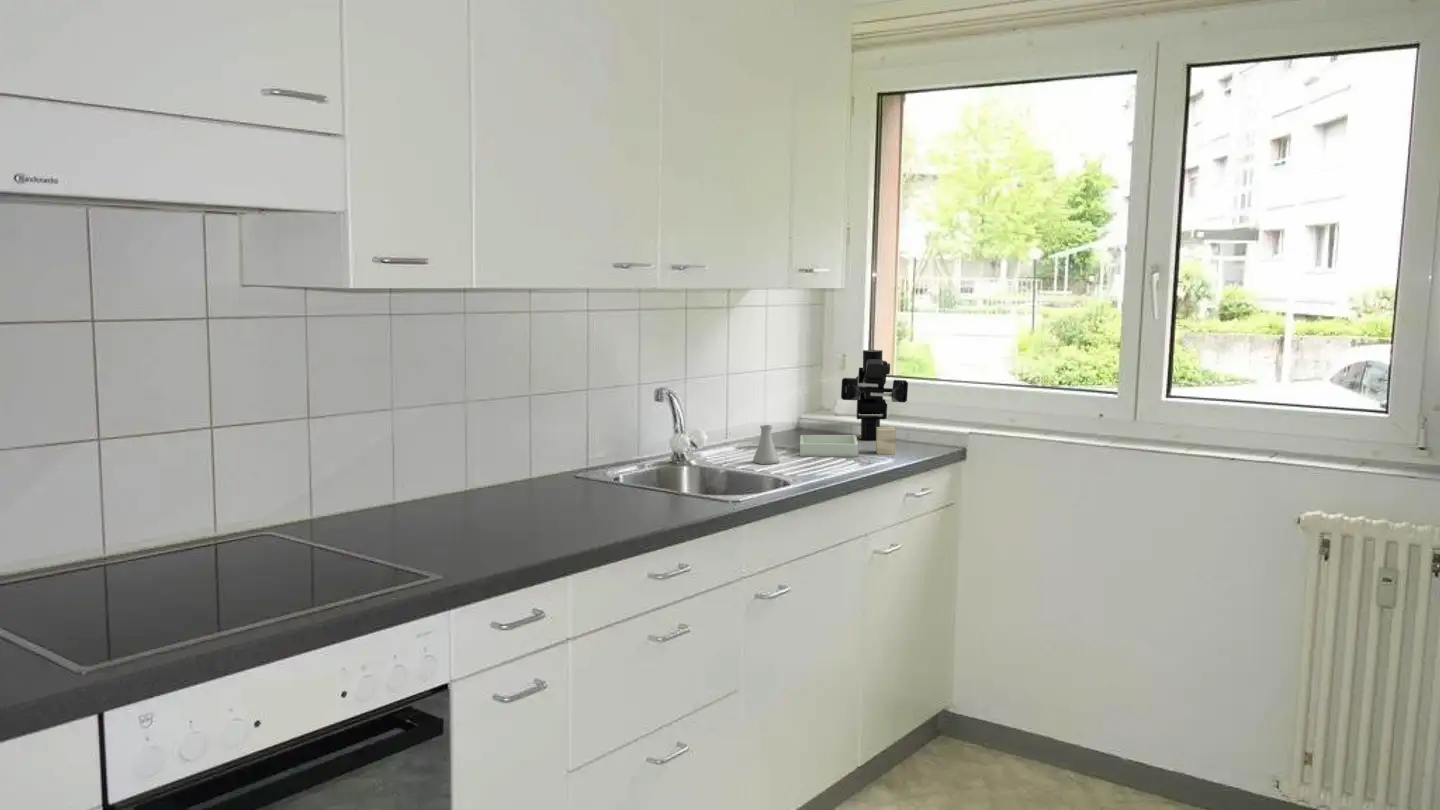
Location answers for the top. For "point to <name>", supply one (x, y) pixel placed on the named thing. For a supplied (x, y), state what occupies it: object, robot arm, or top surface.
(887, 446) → the birch block
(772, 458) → the flask
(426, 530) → the top surface
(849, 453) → the sage bin
